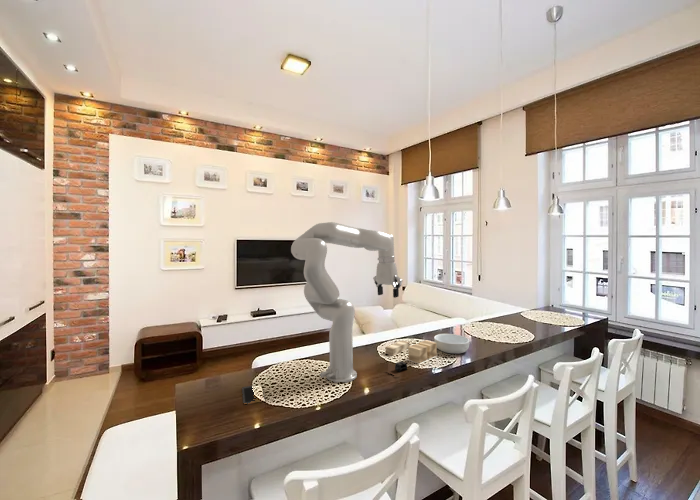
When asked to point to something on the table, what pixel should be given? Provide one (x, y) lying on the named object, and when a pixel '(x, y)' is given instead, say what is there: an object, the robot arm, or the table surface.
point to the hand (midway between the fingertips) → (388, 295)
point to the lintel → (397, 348)
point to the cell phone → (247, 394)
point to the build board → (424, 361)
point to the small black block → (400, 366)
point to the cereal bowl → (451, 343)
